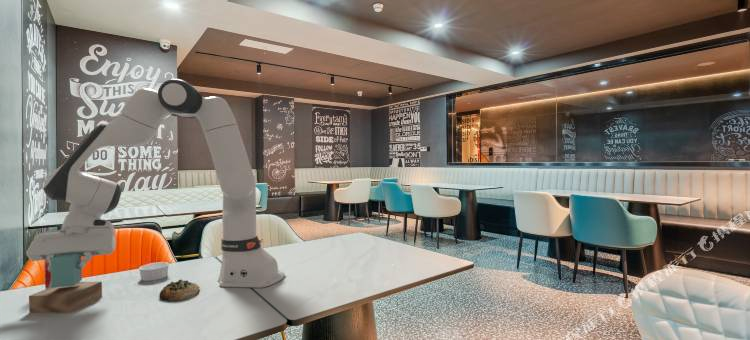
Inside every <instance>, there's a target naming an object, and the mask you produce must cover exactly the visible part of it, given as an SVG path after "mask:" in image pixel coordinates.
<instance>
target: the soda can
mask: <svg viewBox="0 0 750 340" xmlns="http://www.w3.org/2000/svg"><path fill="white" fill-rule="evenodd" d="M43 266H44V287H45V290H46V289H48V288H51V287H52V281H51V272H49V271H48V266H49V263H48V261H47V260H44V265H43Z"/></svg>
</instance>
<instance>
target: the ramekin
mask: <svg viewBox="0 0 750 340" xmlns="http://www.w3.org/2000/svg"><path fill="white" fill-rule="evenodd" d="M169 265H170V264H169V262H165V261H159V262H158V261H157V262H151V263H147V264H144V265H141V266H139V274H140V279H141V281H144V282H152V281H159V280H162V279H164V278H167V277H168V273H169V272H168V271H169Z"/></svg>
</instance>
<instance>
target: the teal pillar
mask: <svg viewBox="0 0 750 340" xmlns="http://www.w3.org/2000/svg"><path fill="white" fill-rule="evenodd" d="M81 260H82V257H81V253H76V254H63V255H58V256H56V257H54V258H52V259H51V281H52V288H54V287H64V286H73V285H75V284H77V283H78V282H82V279H83V276H82V275H83V272H82V270H83V269H77V268H76V264H77V261H81Z"/></svg>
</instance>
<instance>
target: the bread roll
mask: <svg viewBox="0 0 750 340" xmlns="http://www.w3.org/2000/svg"><path fill="white" fill-rule="evenodd" d="M200 288H201V287H200V286H199V285H198V284H196V282H195V283H194V282H192V281H191V282H189V280H187V279H186V280H183V279H179V280H178V281H175V282H174V281H171V282H170V283H168V284H166V285H165V286H164V287H163V288H162V289H161V290H160V291H159V293H158V294H159V299H160V300H162V301H167V302H168V301H170V300H171V302H172V301H173V302H175V301H182V300H188V299H190V298H192V297H194V296H196V295H197V294H198V292H199V290H200Z"/></svg>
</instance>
